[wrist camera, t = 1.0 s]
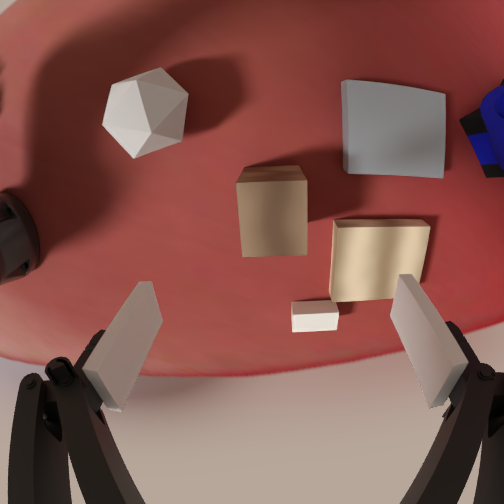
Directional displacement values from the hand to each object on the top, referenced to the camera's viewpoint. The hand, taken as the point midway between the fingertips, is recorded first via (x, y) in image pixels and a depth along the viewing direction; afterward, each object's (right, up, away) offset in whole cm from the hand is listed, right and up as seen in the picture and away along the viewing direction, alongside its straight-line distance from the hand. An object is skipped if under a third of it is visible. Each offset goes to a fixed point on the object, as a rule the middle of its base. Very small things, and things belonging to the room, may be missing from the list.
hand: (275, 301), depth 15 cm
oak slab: (+15, +2, +21) cm, 26 cm away
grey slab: (+15, +17, +14) cm, 26 cm away
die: (-12, +18, +14) cm, 26 cm away
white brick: (+7, -5, +25) cm, 26 cm away
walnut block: (+1, +9, +18) cm, 20 cm away
